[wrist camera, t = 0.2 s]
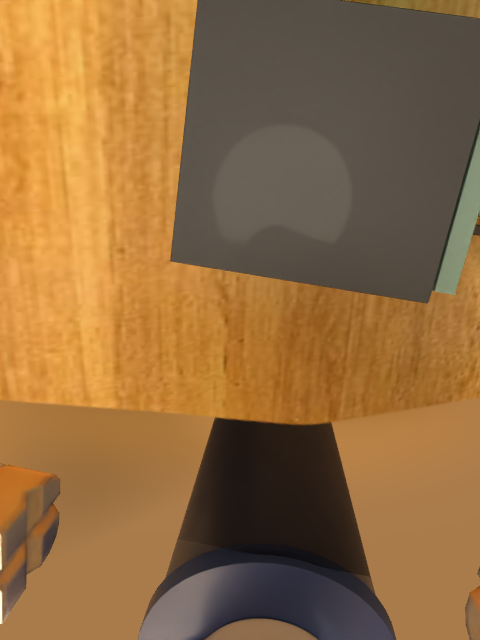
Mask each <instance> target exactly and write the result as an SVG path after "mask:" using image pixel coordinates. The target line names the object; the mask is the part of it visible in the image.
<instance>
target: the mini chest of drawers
mask: <svg viewBox="0 0 480 640" xmlns="http://www.w3.org/2000/svg"><path fill="white" fill-rule="evenodd" d="M479 120H480V18H473V17H465V16H458V15H450V14H442V13H435V12H427V11H419V10H412V9H404V8H396V7H389V6H381V5H373V4H366V3H358V2H350V1H343V0H198V2H197V12H196V21H195V31H194V40H193V50H192V59H191V69H190V78H189V88H188V98H187V107H186V117H185V126H184V136H183V145H182V155H181V164H180V174H179V183H178V193H177V202H176V212H175V221H174V231H173V240H172V250H171V260H170V261H171V262H177V263H183V264H189V265H195V266H202V267H208V268H214V269H220V270H226V271H232V272H238V273H244V274H250V275H256V276H263V277H269V278H275V279H281V280H287V281H293V282H299V283H305V284H311V285H318V286H324V287H330V288H336V289H342V290H348V291H354V292H360V293H366V294H372V295H379V296H385V297H391V298H397V299H403V300H409V301H415V302H421V303H428V302H429V299H430V295H431V292H432V288H433V284H434V281H435V277H436V274H437V270H438V267H439V263H440V259H441V256H442V252H443V249H444V245H445V242H446V238H447V234H448V231H449V227H450V224H451V220H452V217H453V213H454V209H455V206H456V202H457V199H458V195H459V192H460V188H461V184H462V181H463V177H464V174H465V170H466V167H467V163H468V159H469V156H470V152H471V149H472V145H473V142H474V138H475V134H476V131H477V127H478V124H479Z"/></svg>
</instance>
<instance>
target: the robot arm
mask: <svg viewBox="0 0 480 640" xmlns="http://www.w3.org/2000/svg"><path fill="white" fill-rule="evenodd" d="M59 494H60V478H58V476H57V475H54V474H49V473H44V472H40V471H35V470H30V469H26V468H21V467H17V466H12V465H5V464H1V463H0V623H3V621H4V620H5V618H6V617H7V615H8V614H9V612H10V611H11V609H12V608H13V607H14V605H15V604H16V602H17V601H18V599H19V598H20V596H21V594H22V593H23V592H24V590H25V589H26V575H27V574H28V573H30V572H32V571H33V570H35V569H37V568H39V567H40V566H41V565H42V563H43V562H44V560H45V559H46V557H47V556H48V554H49V552H50V550H51V547H52V545H53V543H54V540H55V538H56V534H57V530H58V525H59V512H58V510H57V509H56V507H55V505H54V504H53V502H54V501H55V499H56V498H57V497H58V496H59ZM477 574H478V576H479V578H480V568H479V570H478V573H477ZM465 611H466V627H467V631H468V635H469V639H470V640H480V586H479V587H477V588H476V589H474V590H473V591H471V592H470V594H469V597H468V601H467V604H466V607H465ZM204 640H318V639H317V638H316V637H314V636H313V635H312V634H310V633H309V632H307V631H305V630H303V629H302V628H300V627H297V626H295V625H292V624H290V623H287V622H283V621H279V620H273V619H263V618H255V619H245V620H240V621H236V622H232V623H230V624H227V625H225V626H223V627H221V628H219V629H218V630H216V631H215V632H214V633H212V634H211V635H210V636H208V637H207V638H206V639H204Z"/></svg>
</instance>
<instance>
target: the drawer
mask: <svg viewBox="0 0 480 640" xmlns="http://www.w3.org/2000/svg"><path fill="white" fill-rule="evenodd" d="M479 212H480V120H479V124H478V127H477V131H476V134H475V138H474V142H473V145H472V149H471V152H470V156H469V159H468V163H467V167H466V170H465V174H464V177H463V181H462V184H461V188H460V192H459V195H458V199H457V202H456V206H455V209H454V213H453V217H452V220H451V224H450V227H449V231H448V234H447V238H446V242H445V245H444V249H443V252H442V256H441V259H440V263H439V267H438V270H437V274H436V277H435V281H434V284H433V288H432V290H433V291H435V292H440V293H446V294H452V295H455V293H456V289H457V286H458V282H459V279H460V276H461V272H462V269H463V266H464V262H465V259H466V255H467V252H468V249H469V245H470V242H471V239H472V235H478V236H480V225H476V222H477V218H478V215H479Z"/></svg>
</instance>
